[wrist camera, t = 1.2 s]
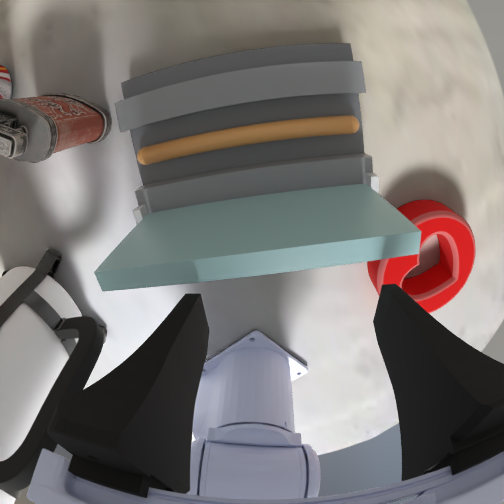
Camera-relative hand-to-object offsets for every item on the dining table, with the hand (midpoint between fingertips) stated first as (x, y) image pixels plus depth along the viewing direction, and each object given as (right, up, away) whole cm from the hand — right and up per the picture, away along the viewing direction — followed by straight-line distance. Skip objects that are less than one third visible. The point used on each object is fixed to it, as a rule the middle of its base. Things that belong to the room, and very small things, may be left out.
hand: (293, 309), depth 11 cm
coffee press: (-22, -3, +15) cm, 27 cm away
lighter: (-16, +13, +7) cm, 21 cm away
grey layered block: (-2, +10, +7) cm, 13 cm away
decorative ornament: (+13, +2, +11) cm, 17 cm away
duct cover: (-2, +4, +3) cm, 5 cm away
